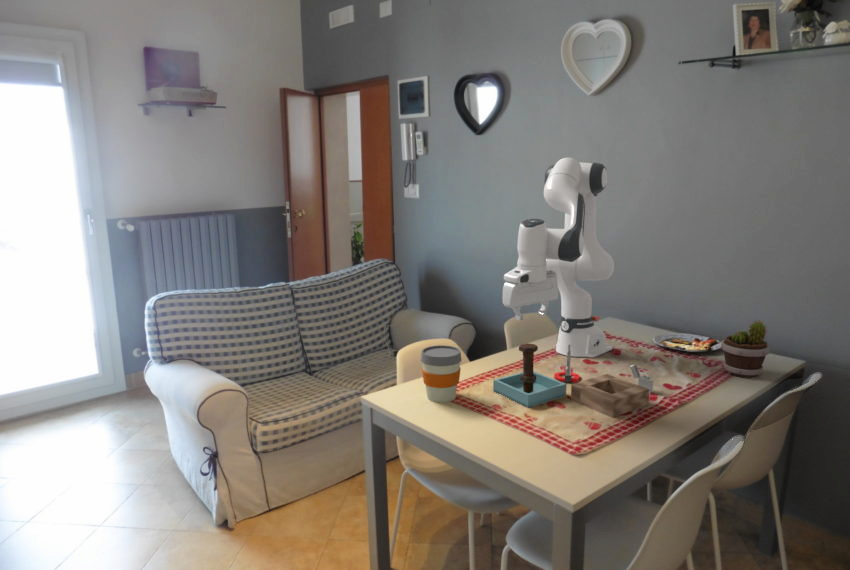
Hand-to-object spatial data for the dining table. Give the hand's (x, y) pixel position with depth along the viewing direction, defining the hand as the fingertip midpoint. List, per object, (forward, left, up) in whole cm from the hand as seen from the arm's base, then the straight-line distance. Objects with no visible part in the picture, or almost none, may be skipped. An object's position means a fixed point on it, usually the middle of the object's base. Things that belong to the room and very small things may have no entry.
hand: (530, 317), depth 187 cm
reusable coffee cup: (+24, -14, -25) cm, 37 cm away
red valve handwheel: (-20, -3, -25) cm, 32 cm away
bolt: (+1, 0, -24) cm, 24 cm away
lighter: (-31, +18, -25) cm, 44 cm away
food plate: (-85, -1, -25) cm, 88 cm away
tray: (0, 0, -25) cm, 25 cm away
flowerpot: (-72, +28, -25) cm, 81 cm away
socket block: (-15, +19, -25) cm, 35 cm away
